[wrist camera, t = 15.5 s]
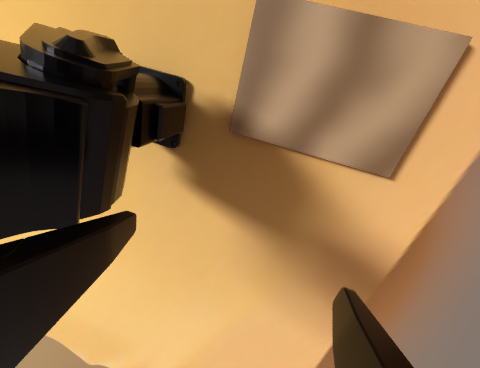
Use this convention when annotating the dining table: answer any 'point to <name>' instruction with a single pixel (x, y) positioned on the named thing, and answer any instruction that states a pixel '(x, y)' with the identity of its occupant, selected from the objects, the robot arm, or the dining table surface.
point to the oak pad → (340, 82)
